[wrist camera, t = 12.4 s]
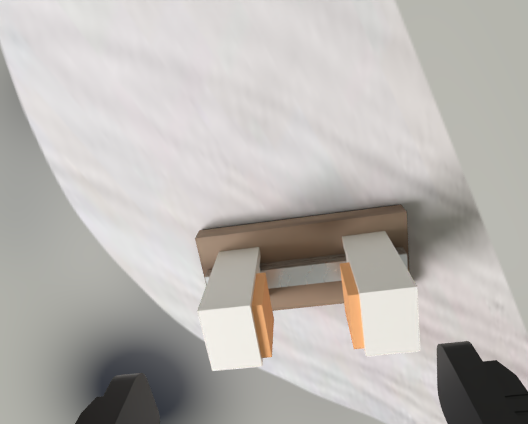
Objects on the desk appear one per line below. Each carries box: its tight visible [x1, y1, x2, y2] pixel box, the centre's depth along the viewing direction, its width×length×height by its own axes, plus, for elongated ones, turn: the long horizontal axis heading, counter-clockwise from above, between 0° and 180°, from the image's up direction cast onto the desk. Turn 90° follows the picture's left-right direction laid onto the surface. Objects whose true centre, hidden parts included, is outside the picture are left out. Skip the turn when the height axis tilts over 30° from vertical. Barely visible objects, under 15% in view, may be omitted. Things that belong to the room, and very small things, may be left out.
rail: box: [195, 205, 409, 371], centre depth 36 cm, size 9×20×12 cm, turn 99°
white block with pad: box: [340, 231, 420, 357], centre depth 34 cm, size 6×5×10 cm
